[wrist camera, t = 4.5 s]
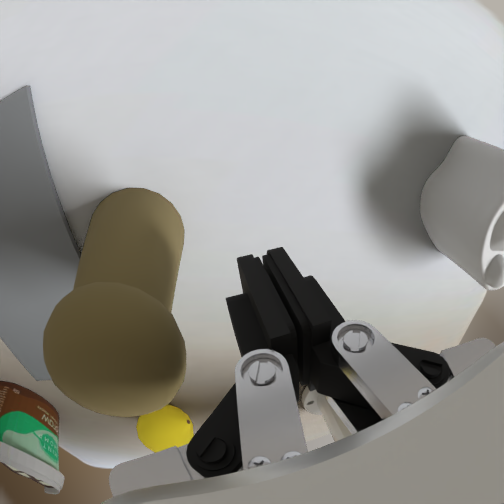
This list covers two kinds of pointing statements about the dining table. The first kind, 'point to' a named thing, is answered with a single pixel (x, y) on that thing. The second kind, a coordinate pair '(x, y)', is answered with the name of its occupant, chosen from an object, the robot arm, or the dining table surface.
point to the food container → (29, 436)
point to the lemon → (165, 428)
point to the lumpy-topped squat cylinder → (468, 209)
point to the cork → (122, 310)
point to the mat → (30, 236)
